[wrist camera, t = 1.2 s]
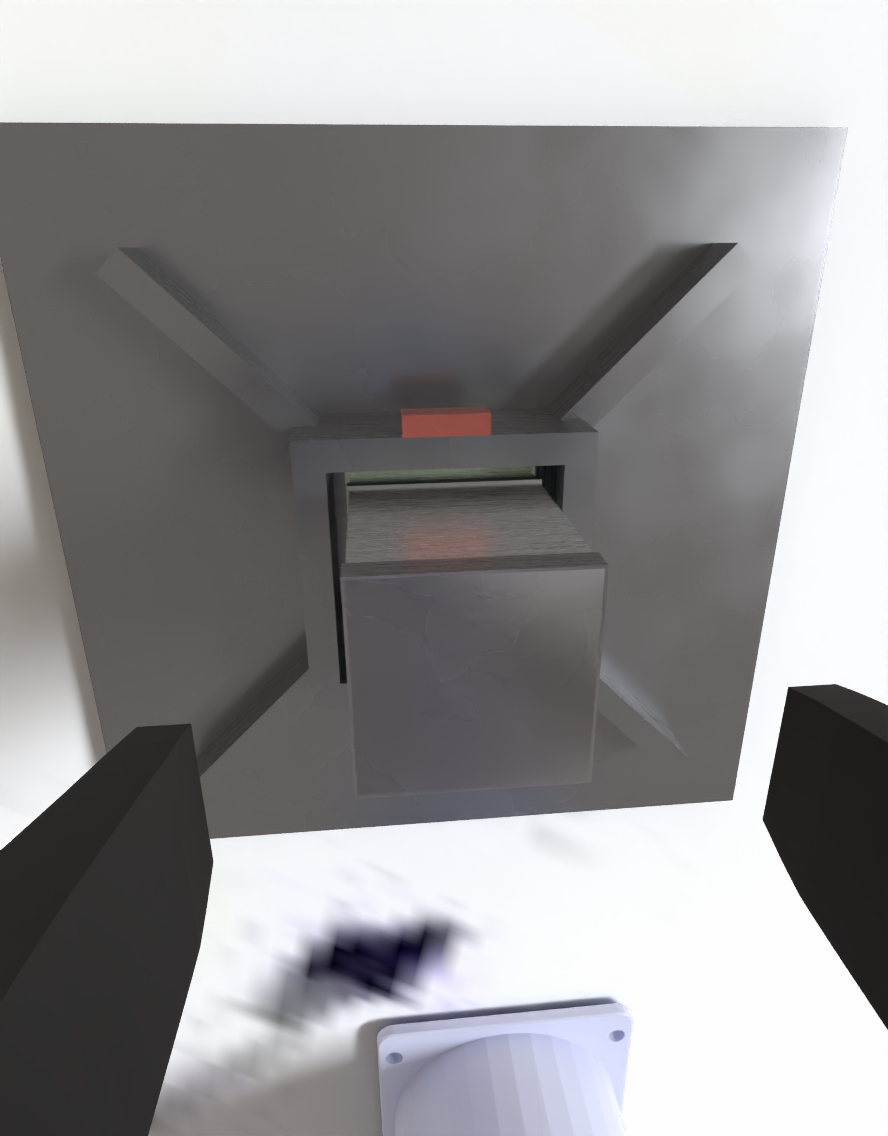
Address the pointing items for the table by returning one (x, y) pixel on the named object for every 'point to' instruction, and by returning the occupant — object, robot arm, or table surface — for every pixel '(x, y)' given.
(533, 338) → the stand base
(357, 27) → the table surface
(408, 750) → the grey rectangular block
